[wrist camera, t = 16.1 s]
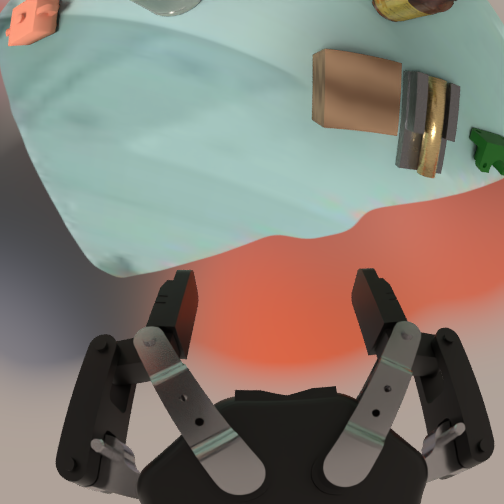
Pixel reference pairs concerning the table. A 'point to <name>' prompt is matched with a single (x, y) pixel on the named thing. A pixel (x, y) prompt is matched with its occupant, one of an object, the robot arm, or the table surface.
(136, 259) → the table surface
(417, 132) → the rest
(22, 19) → the pink cube teapot
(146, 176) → the table surface
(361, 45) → the table surface
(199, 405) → the robot arm
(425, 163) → the cannon barrel
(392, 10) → the sauce bottle
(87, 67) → the table surface
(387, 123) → the wooden mallet head
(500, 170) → the clamp
